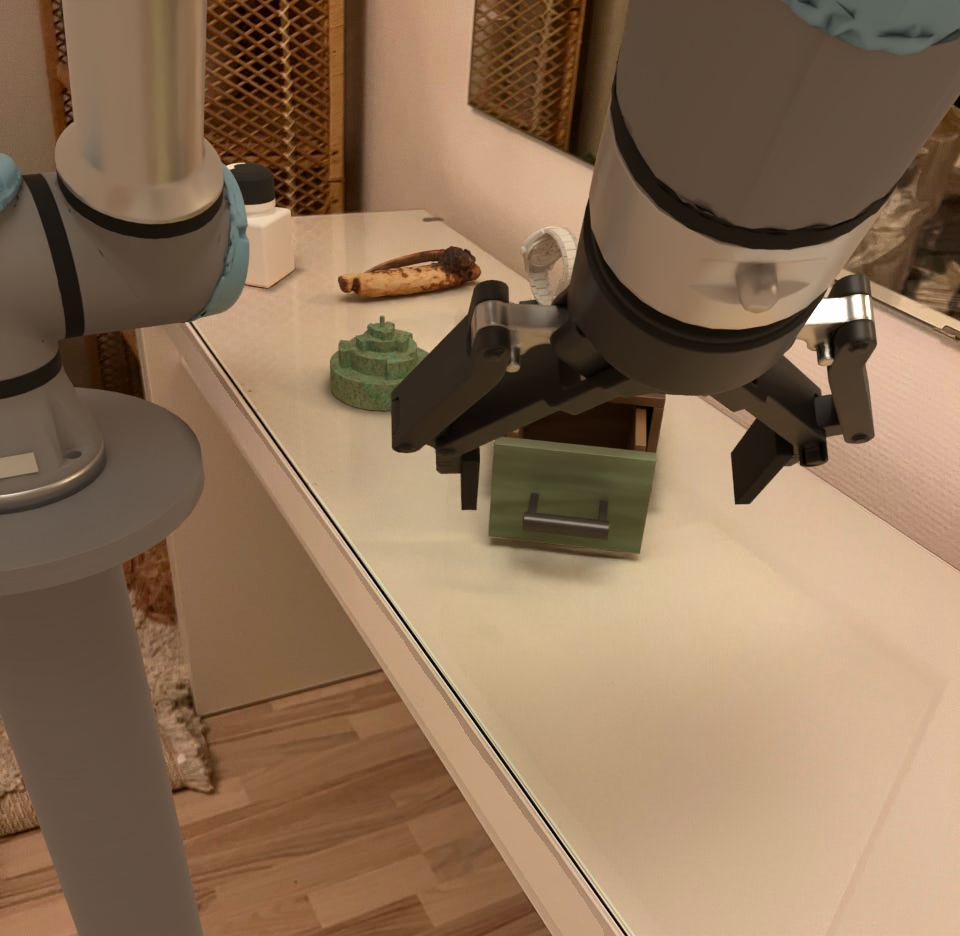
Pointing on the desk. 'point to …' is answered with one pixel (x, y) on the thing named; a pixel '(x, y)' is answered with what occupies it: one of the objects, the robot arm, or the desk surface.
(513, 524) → the drawer
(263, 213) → the medicine bottle
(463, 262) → the lashed bone hook
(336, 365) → the decorative artifact
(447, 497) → the desk surface
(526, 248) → the watch
